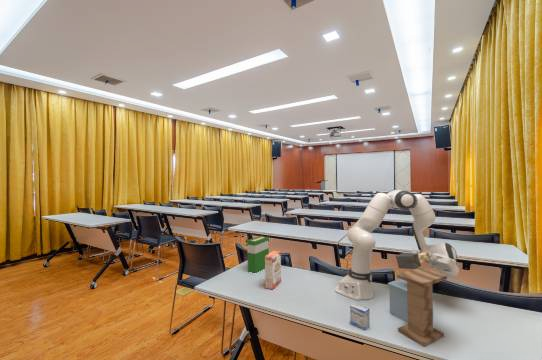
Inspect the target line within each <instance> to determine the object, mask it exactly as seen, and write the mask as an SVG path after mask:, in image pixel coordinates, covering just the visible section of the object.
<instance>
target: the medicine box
mask: <svg viewBox="0 0 542 360" xmlns="http://www.w3.org/2000/svg"><path fill="white" fill-rule="evenodd" d="M370 312H371V311H370V308H368V307H366V306H364V305H361V304H358V303H355V302H354V303H352V304H351V305H350V306H349V324H350V325H352V326H355V327H358V328H360V329H362V330H363V331H366V330H367V329H368V328H369V327H370V326H371V322H370V319H371V318H370V317H371V316H370Z"/></svg>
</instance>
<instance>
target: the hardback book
mask: <svg viewBox="0 0 542 360" xmlns="http://www.w3.org/2000/svg"><path fill="white" fill-rule="evenodd" d="M246 245H247V246H246V248H247V273H249V272H252V273H251V274H253V273H257V272H259V271H260V272H262V271H264V270H265V256H266V255H268V254H269V253H270V251H269V249H270V247H269V245H270V244H269V236H263V235H260V236H257V237H253V238H250V239H248V240H246ZM263 269H264V270H263ZM261 270H262V271H261ZM260 272H259V273H260ZM257 274H258V273H257Z"/></svg>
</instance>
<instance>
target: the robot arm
mask: <svg viewBox="0 0 542 360" xmlns="http://www.w3.org/2000/svg"><path fill="white" fill-rule="evenodd" d="M392 207H393V208H395V209H399V210H401V209H402V210H409V211H410V214H411V216H412V217H413V222H412V224H411V228H412V233H413V236H414V240H415V241H416V246H417V249H414V248H413V249H412V251H411V253H418V254H420V253H422V252H428V254H427V256H429V257H431V258H429V259H427V260H425V261H424V262H425V263H427V264H428V266H430V267H431V268H432V269H433V270H435V271H436V272H438V273H440V274H443V275H446V276H447V278H448V277H449V278H454V277H456V276H458V275H459V272H460V269H459V266H458V265H457V264H456V263H457V260H458V254H457V251H456V249H455V248H454V246H452V245H451V244H450V243H448V242H441V243H434V244H427V243H426V242H427V241H426V240H425V236H424V234H423V232H424V230H426V229H427V228H429V227H430V226H432V225H433V224H434V223H435V221H436V214H435V211H434V210H433V208H432V206H431V204H430V203H429V200H427V199H426V197H425V196H424V195H422V194H421V193H415V194H413V193H412V192H410V191H408V190H403V189H391V190H390V191H388V192H386V193H385V192H377V193H376V194H375V195H374V196H373V197H372V199H370V201H369V202H368V205H367V206H366V208H365V210H364V211H363V213H362V215H361V216H360V217H359V219H357V221H356V222H355V223H354V225H352V226H351V227H350V228H349V229H348V230H347V234H346V235H347V239H348V241H349V243H351V244H352V245H353V250H352V254H351V257H350V267H349V269H348V270H347V274H346V275H345V276H343V277H342V278H341V279H340V280H339V283H338V284H337V286H336V287H335V288H334V292H335V293H338V294H339V295H342V296H344V297H347V298H350V299H352V300H354V301H361V300H370V299H371V300H372V299H373V298H375V293H374V289H373V284H372V283H373V282H372V281H373V273H372V263H371V262H372V261H371V260H372V254H373V249H374V248H375V246H376V240H375V237H374V236H373V234H371V233H372V232H373V231H374V230H375V229H377V228H378V227H380V225H381V223H382V222H383V220H384V218H385V217H386V215H387V213H388V211H389V210H390V209H391V208H392ZM429 252H430V253H429Z"/></svg>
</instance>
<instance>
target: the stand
mask: <svg viewBox="0 0 542 360" xmlns="http://www.w3.org/2000/svg"><path fill="white" fill-rule="evenodd" d="M396 278H397V279H402V280H405V281H407V305H408V323H406V324H405V325H402V326H398V327H397V332H398V333H400V334H401V335H403V336H405V337H406V338H408V339H410V340H412V341H414V342H415V343H417V344H419V345H420V346H422V347H424V348H425V347H427V346H428V345H431V344H432V343H434V342H436V341H438V340H440V339H442V338H445V333H444V332H442V331H441V330H439V329H437V328H435V327H434V306H433V305H434V302H433V301H434V299H433V285H434V284H437V283H439V282H442V281H446V280H448V276H446V275H443V274H441V273H440V272H438V271H433V270H430V269H427V268H424V267H421V266H420V267H418V268H416V269H408V270H407V271H403V272H400V273H397V274H396Z"/></svg>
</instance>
